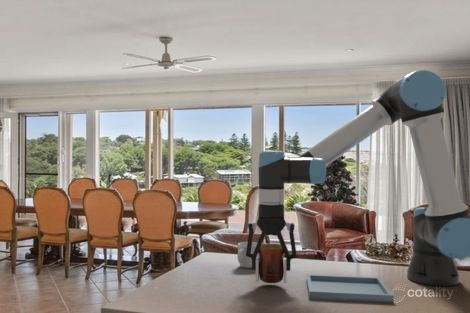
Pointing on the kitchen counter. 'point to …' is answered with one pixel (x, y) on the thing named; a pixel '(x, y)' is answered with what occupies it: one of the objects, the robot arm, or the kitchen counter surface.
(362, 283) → the tray
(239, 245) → the cup
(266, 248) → the mug
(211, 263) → the kitchen counter surface
